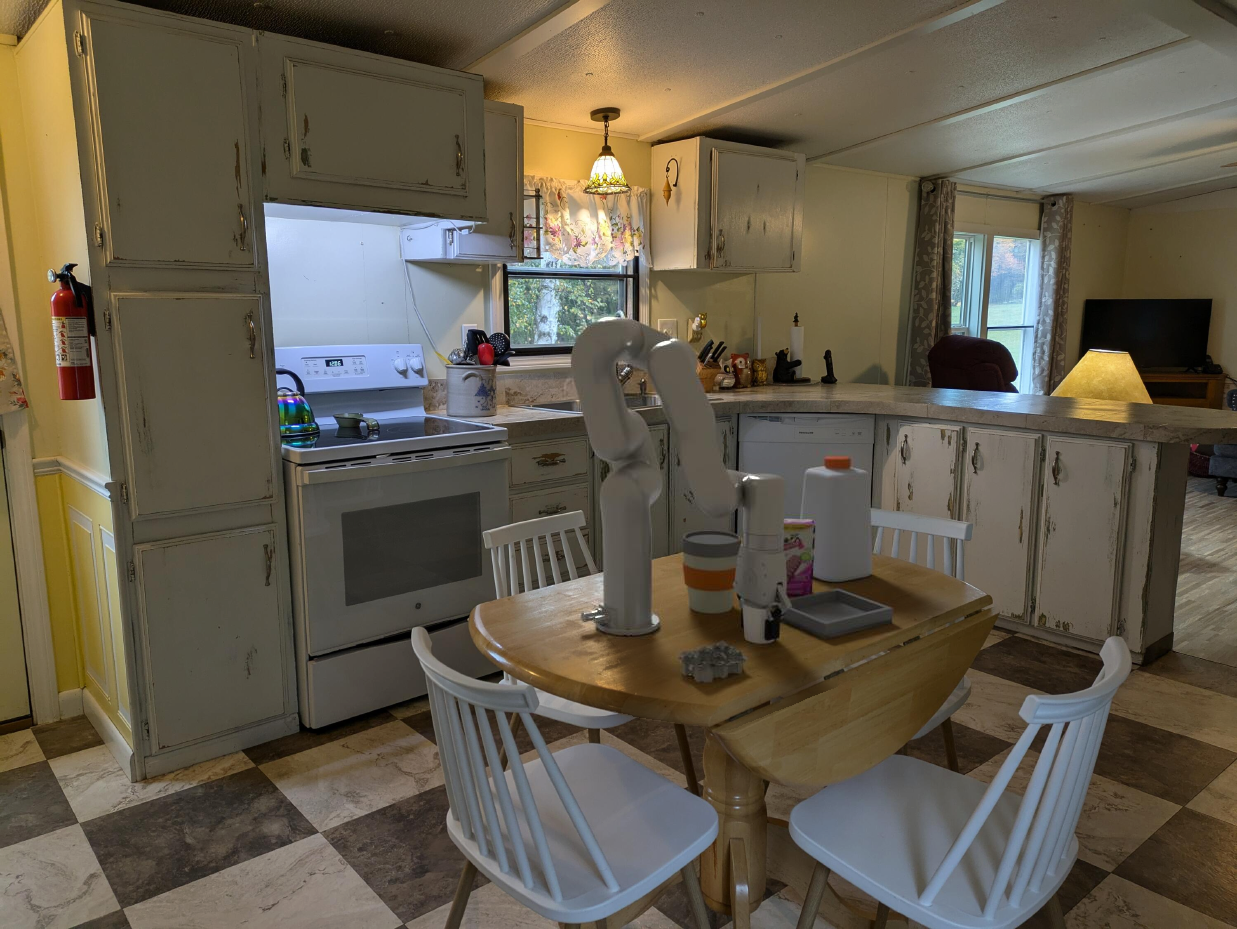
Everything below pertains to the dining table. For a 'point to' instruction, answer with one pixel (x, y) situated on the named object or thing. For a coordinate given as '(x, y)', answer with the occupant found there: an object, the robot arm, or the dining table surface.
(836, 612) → the tray
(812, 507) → the plastic bottle
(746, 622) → the white cup
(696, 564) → the reusable coffee cup
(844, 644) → the dining table surface
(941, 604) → the dining table surface
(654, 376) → the robot arm
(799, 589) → the candy bar box
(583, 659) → the dining table surface
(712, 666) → the egg carton
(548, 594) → the dining table surface
